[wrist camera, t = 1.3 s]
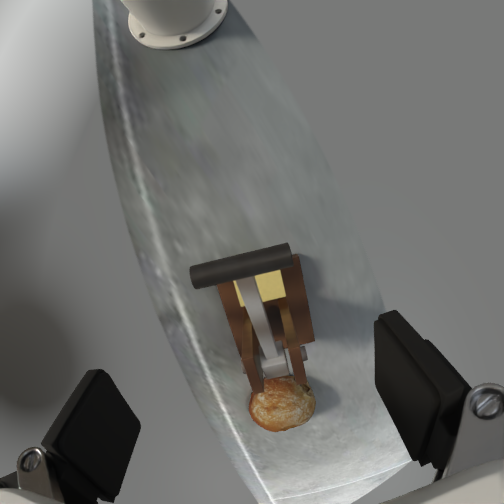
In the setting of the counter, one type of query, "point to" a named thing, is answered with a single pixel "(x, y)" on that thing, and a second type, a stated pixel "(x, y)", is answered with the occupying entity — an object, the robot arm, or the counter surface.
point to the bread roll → (282, 404)
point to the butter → (267, 286)
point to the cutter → (272, 325)
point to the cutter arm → (251, 295)
